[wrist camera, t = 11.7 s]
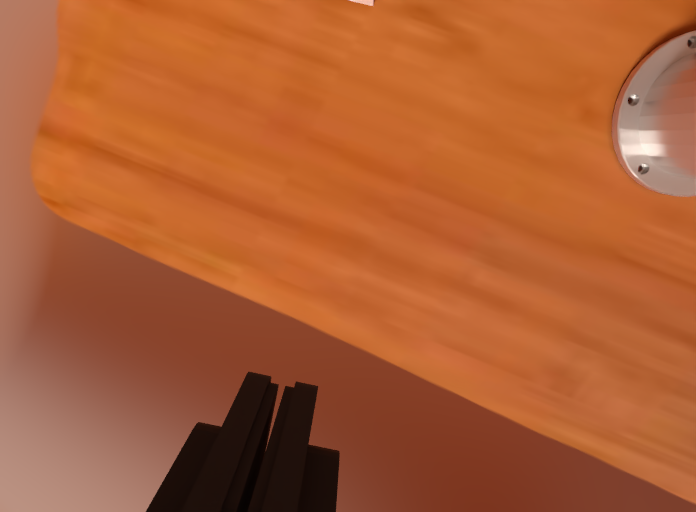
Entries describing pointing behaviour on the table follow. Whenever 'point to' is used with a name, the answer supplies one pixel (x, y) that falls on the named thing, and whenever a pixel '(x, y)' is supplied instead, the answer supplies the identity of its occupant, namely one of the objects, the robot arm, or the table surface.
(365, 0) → the bridge
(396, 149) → the table surface
